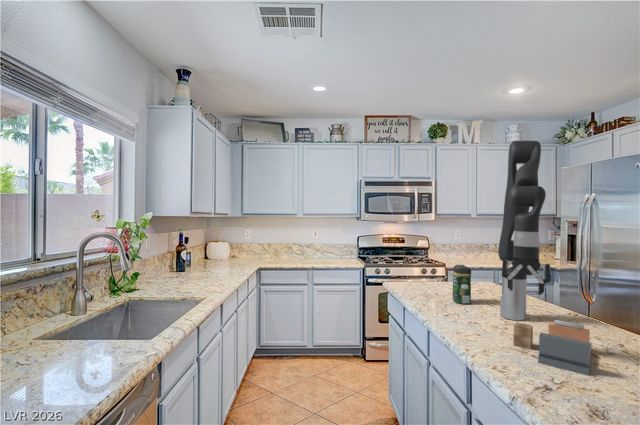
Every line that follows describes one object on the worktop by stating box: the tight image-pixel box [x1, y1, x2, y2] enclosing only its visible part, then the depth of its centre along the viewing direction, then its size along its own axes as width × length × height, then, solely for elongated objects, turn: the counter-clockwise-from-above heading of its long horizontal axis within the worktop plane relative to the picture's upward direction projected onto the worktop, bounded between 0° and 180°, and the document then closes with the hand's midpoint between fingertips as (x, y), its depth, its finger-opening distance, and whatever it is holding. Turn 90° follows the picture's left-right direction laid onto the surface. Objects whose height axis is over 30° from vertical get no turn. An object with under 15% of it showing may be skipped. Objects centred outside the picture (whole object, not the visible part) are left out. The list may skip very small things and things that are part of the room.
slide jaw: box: [547, 319, 591, 342], centre depth 115 cm, size 11×3×6 cm, turn 50°
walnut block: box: [513, 322, 534, 351], centre depth 117 cm, size 5×4×7 cm
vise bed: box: [537, 332, 592, 376], centre depth 109 cm, size 12×24×8 cm, turn 140°
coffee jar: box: [452, 264, 472, 305], centre depth 172 cm, size 10×8×19 cm
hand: (525, 292), depth 117 cm, fingers open, 8 cm apart
